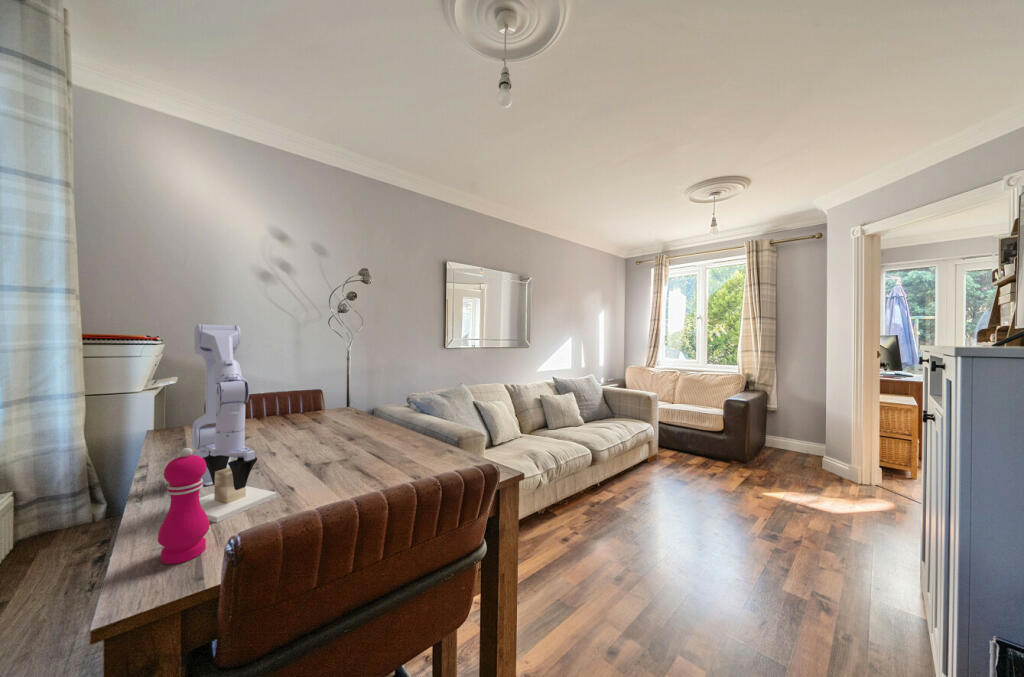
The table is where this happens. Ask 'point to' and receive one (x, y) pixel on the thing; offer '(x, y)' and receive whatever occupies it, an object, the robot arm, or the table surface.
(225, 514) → the white board
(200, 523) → the pepper mill
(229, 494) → the birch block
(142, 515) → the table surface
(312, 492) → the table surface
